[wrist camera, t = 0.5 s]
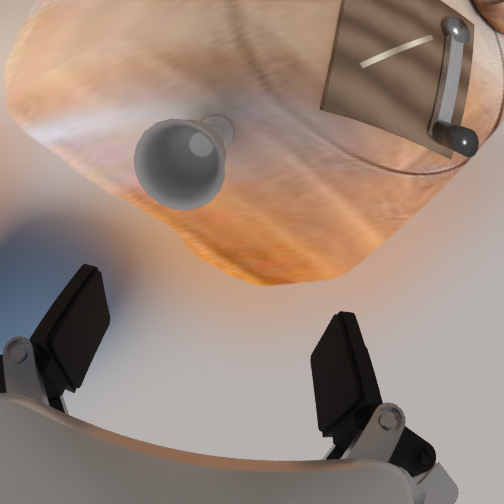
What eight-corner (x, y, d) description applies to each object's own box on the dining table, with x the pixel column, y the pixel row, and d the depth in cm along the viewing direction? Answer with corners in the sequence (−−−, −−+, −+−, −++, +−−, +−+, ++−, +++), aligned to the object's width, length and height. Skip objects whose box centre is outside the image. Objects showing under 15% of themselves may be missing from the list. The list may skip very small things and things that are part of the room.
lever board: (347, -38, 17) (352, -43, 16) (467, 25, 19) (474, 24, 17) (319, 109, 31) (323, 110, 30) (444, 155, 33) (451, 159, 31)
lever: (442, 13, 18) (474, 5, 11) (463, 27, 18) (496, 24, 11) (421, 136, 30) (454, 150, 23) (442, 147, 30) (475, 162, 23)
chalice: (252, 137, 34) (245, 173, 19) (214, 167, 36) (179, 226, 21) (217, 97, 31) (177, 98, 16) (179, 130, 33) (117, 162, 18)
